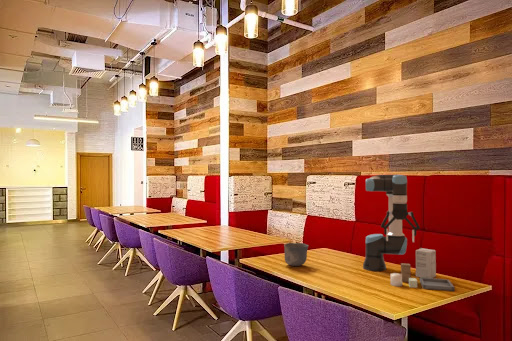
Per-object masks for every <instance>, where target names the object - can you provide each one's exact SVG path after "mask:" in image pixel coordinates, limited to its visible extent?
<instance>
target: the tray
mask: <svg viewBox="0 0 512 341" xmlns="http://www.w3.org/2000/svg"><path fill="white" fill-rule="evenodd" d="M419 282H420V285H421V287H422V289H423V290H434V291H447V292H448V291H449V292H455V290H456V289H455V285H453V283H452V282H451V281H450V279H444V278H435V277H434V278H421V277H419Z"/></svg>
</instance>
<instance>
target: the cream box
mask: <svg viewBox="0 0 512 341" xmlns="http://www.w3.org/2000/svg"><path fill="white" fill-rule="evenodd" d="M408 286H409V288H416V289H417V288H418V280H417V277H416V278H415V277H411V278H409V282H408Z"/></svg>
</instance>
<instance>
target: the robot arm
mask: <svg viewBox="0 0 512 341" xmlns="http://www.w3.org/2000/svg"><path fill="white" fill-rule="evenodd" d="M365 191H366V192H384V193H385V195H386V196H387V197H388V210H387V211H386V215H385V217H384V218H383V221H382V222H381V225H380V228H382V229H383V234H384V235H383V234H382V233H373V234H372V233H371V234H369V235H367V236H365V256H364V257H365V258H364V261H363V265H362V269H364V270H367V271H373V272H384V271H386V270H387V265H386V261H385V259H384V254H385V255H399V256H401V255H405V254H406V253H407V246H408V238H407V237H406V235H405V234H404V233H403V220H405V221H406V222H407V223H408V224H409V225H410V226H411V228H412V230H411V234H412V236H411V239H412V243H415V237H417V230H420V229H421V227H420V225H419V223H418V221H417V220H416V218H415V216H414V212H413V211H409V212H408V203H407V202H408V178H407V175H403V174H377V175H373V176H371V177H369V178H366V179H365ZM408 216H410V217H411V219H412V221H413V222H414V224H415V225H414V224H413V223H412V221H411V220H409V219H408V218H407V217H408ZM387 221H388V222H387ZM386 222H387V223H386ZM385 224H386V225H385Z"/></svg>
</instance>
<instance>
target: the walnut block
mask: <svg viewBox="0 0 512 341" xmlns="http://www.w3.org/2000/svg"><path fill="white" fill-rule="evenodd" d="M411 267H412V266H411V264H410V263H403V262H402V263H400V274H402V283H409V278H412V277H411V273H412V272H411V271H412V270H411Z"/></svg>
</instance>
